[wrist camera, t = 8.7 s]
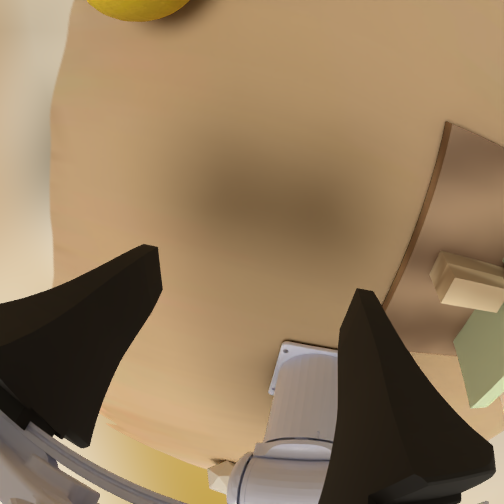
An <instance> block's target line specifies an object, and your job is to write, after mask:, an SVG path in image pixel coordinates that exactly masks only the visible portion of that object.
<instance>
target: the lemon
mask: <svg viewBox="0 0 504 504" xmlns="http://www.w3.org/2000/svg"><path fill="white" fill-rule="evenodd" d="M87 1H88V3H89V4H90V5H91V6H93V7H94V8H95V9H97V10H98V11H99V12H101V13H103V14H105V15H107V16H110V17H113V18H116V19H119V20H123V21H136V22H145V21H151V20H156V19H160V18H163V17H165V16H168V15H170V14H173V13H174V12H176V11H177V10H179V9H180V8H182V7H183V6H184V5H185V4H186V3H187V2H188V1H190V0H87Z"/></svg>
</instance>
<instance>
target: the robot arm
mask: <svg viewBox="0 0 504 504" xmlns="http://www.w3.org/2000/svg"><path fill="white" fill-rule="evenodd" d="M162 290H163V288H162V280H161V272H160V263H159V254H158V247H155V246H150V245H146V244H143V245H141V246H138V247H136V248H134V249H132V250H130V251H128V252H126V253H124V254H122V255H120V256H118V257H116V258H114V259H113V260H111V261H109V262H107V263H105V264H103V265H101V266H99V267H97V268H95V269H93V270H91V271H89V272H87V273H85V274H83V275H81V276H79V277H77V278H75V279H73V280H71V281H69V282H66V283H64V284H62V285H59V286H57V287H54V288H52V289H50V290H47V291H44V292H41V293H38V294H35V295H32V296H29V297H26V298H22V299H19V300H14V301H10V302H6V303H1V304H0V501H1V502H2V503H3V504H99V503H97V502H98V499H99V497H100V494H99V493H98V492H96V491H94V490H93V489H91V488H90V487H88V486H87V485H85V484H83V483H81V482H80V481H78V480H76V479H75V478H73V477H71V476H69V475H67V474H66V473H64V472H63V471H61V470H60V469H59V468H58V464H57V462H56V460H57V461H58V462H60V463H61V464H63V465H64V466H66V467H67V468H69V469H70V470H72V471H73V472H75V473H76V474H78V475H80V476H82V477H83V478H85V479H87V480H88V481H90V482H92V483H93V484H95V485H97V486H99V487H101V488H103V489H104V490H107V491H108V492H110V493H112V494H114V495H116V496H118V497H120V498H122V499H124V500H127V501H129V502H131V503H133V504H187V503H184V502H181V501H178V500H175V499H172V498H169V497H166V496H164V495H161V494H158V493H156V492H153V491H151V490H148V489H146V488H144V487H141V486H139V485H136V484H134V483H132V482H130V481H128V480H126V479H124V478H121V477H119V476H117V475H115V474H113V473H111V472H109V471H107V470H106V469H103V468H101V467H100V466H98V465H96V464H94V463H92V462H91V461H89V460H87V459H86V458H84V457H82V456H81V455H79V454H77V453H75V452H74V451H72V450H71V449H69V448H68V447H66V446H64V445H63V444H61V443H60V442H58V441H57V440H55V439H54V438H53V435H56V436H57V437H59V438H60V439H63V438H66V439H67V440H69V441H70V442H72V443H74V444H75V445H77V446H78V447H80V448H86V447H88V446H90V442H91V438H92V434H93V430H94V427H95V423H96V420H97V417H98V414H99V411H100V408H101V405H102V402H103V399H104V397H105V394H106V392H107V390H108V387H109V385H110V382H111V380H112V378H113V376H114V373H115V371H116V369H117V367H118V365H119V363H120V361H121V359H122V357H123V356H124V354H125V352H126V351H127V349H128V348H129V346H130V345H131V343H132V341H133V340H134V338H135V337H136V335H137V334H138V332H139V331H140V329H141V328H142V326H143V325H144V323H145V322H146V320H147V318H148V317H149V315H150V314H151V312H152V311H153V309H154V307H155V305H156V303H157V301H158V298H159V296H160V294H161V292H162ZM285 349H286V350H285ZM268 393H269V394H270V395H274V397H273V402H272V406H271V411H270V415H269V420H268V424H267V428H266V433H265V437H264V441H263V443H256V446H255V450H254V452H247V453H246V454H244V455H243V456H242V457H241V458H240V459H239V460H238V461H237V462H236V464H235V465H234V467H233V469H232V471H231V474H230V477H229V481H228V486H227V504H457V503H460V501H461V493H462V492H464V491H466V490H468V489H470V488H472V487H475V486H477V485H479V484H481V483H482V482H484V481H486V480H488V479H489V478H491V477H492V476H493V475H494V473H495V472H496V468H495V458H494V451H493V446H492V445H491V444H490V443H489V442H488V441H487V440H485V439H484V438H483V437H482V436H481V435H480V434H478V433H477V432H476V431H475V430H474V429H472V428H471V427H470V426H469V425H468V424H467V423H466V422H465V421H464V420H463V419H462V418H461V417H460V416H459V415H458V414H457V413H456V412H455V411H454V410H453V409H452V407H451V406H450V405H449V404H448V403H447V402H446V401H445V399H444V398H443V397H442V396H441V395H440V394H439V393H438V391H437V390H436V389H435V388H434V386H433V385H432V384H431V383H430V381H429V380H428V378H427V377H426V376H425V374H424V373H423V372H422V370H421V369H420V368H419V366H418V365H417V363H416V362H415V360H414V359H413V357H412V356H411V354H410V353H409V351H408V350H407V348H406V347H405V345H404V343H403V342H402V340H401V338H400V337H399V335H398V333H397V332H396V330H395V328H394V327H393V325H392V323H391V321H390V320H389V318H388V316H387V314H386V313H385V311H384V309H383V307H382V306H381V304H380V302H379V300H378V299H377V297H376V295H375V294H374V292H373V291H369V290H364V289H358V288H357V289H356V291H355V294H354V296H353V299H352V301H351V304H350V306H349V309H348V311H347V314H346V316H345V318H344V321H343V323H342V325H341V328H340V333H339V343H338V350H333V349H327V348H321V347H315V346H310V345H304V344H299V343H294V342H289V341H285V342H283V343H282V345H281V349H280V352H279V356H278V359H277V363H276V367H275V370H274V374H273V377H272V381H271V384H270V387H269V391H268ZM479 504H489V502H488V501H485V502H482V503H479Z"/></svg>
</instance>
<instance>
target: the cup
mask: <svg viewBox="0 0 504 504" xmlns="http://www.w3.org/2000/svg"><path fill="white" fill-rule="evenodd" d="M499 397H500V400H501V404H502V408H503V413H504V392H503V393H502V394H501V395H500V396H499Z"/></svg>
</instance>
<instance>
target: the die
mask: <svg viewBox="0 0 504 504" xmlns="http://www.w3.org/2000/svg"><path fill="white" fill-rule="evenodd" d="M234 465H235V464H234V463H232V462H230V461H224V462H222V463H220V464H217V465H215V466H213V467H210V468H208V469H207V470H208V479H209V488H210V489H213V490H215V491H218V492H221V493H224V494H227V486H228V481H229V477H230V474H231V471H232V469H233V467H234Z"/></svg>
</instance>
